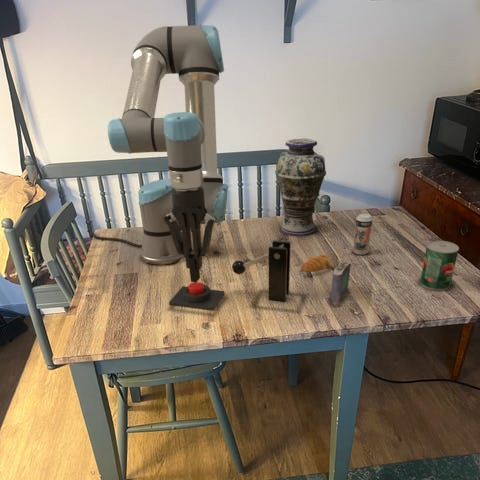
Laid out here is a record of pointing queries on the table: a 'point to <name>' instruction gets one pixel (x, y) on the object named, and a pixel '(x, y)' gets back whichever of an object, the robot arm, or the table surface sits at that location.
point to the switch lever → (249, 263)
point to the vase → (299, 185)
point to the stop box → (197, 299)
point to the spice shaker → (362, 234)
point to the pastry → (317, 263)
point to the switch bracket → (279, 271)
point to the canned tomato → (439, 265)
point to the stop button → (196, 288)
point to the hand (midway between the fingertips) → (195, 279)
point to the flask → (340, 280)
